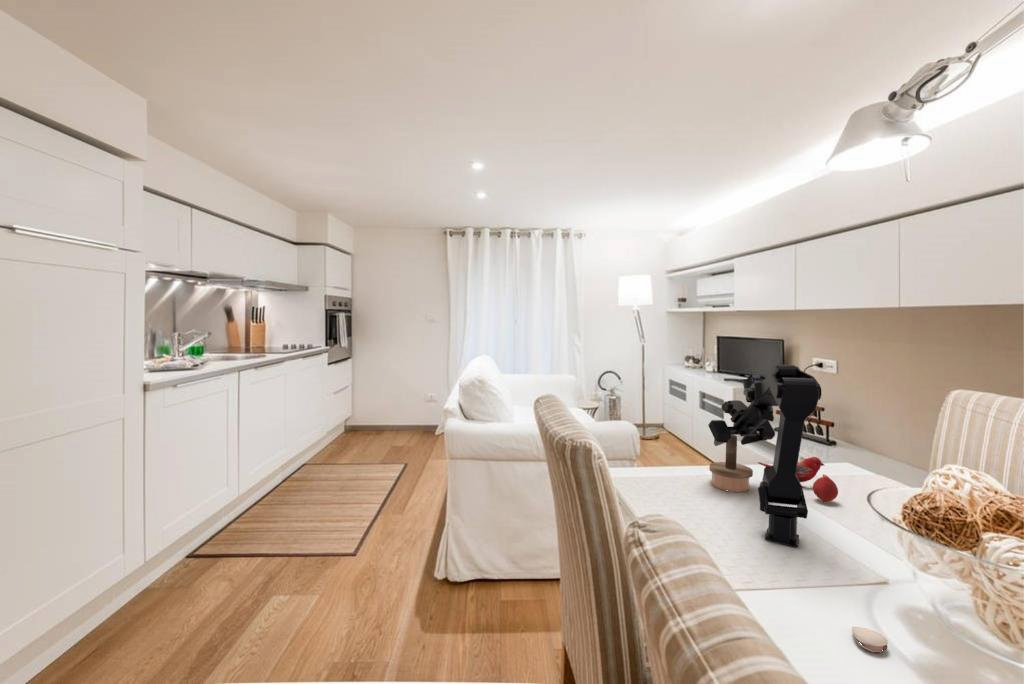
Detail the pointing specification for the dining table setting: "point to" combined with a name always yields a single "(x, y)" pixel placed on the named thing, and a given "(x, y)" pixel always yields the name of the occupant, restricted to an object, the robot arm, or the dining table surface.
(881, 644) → the beige oval flat piece
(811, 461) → the decorative bird figurine
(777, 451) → the robot arm
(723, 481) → the bowl
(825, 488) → the onion
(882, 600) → the dining table surface
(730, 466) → the lid
